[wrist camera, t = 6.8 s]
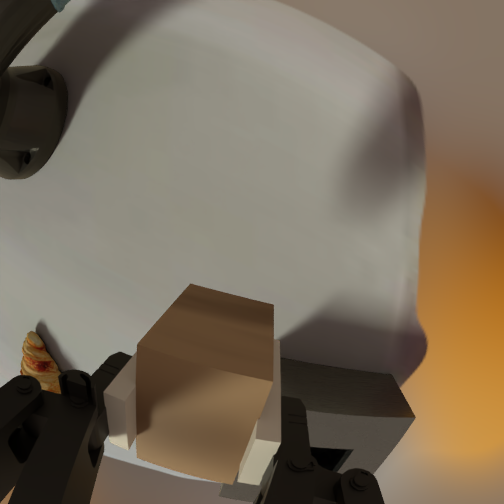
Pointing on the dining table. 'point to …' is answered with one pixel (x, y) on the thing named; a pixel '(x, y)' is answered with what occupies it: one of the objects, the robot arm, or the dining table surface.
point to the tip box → (341, 418)
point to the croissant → (39, 363)
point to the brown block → (203, 382)
